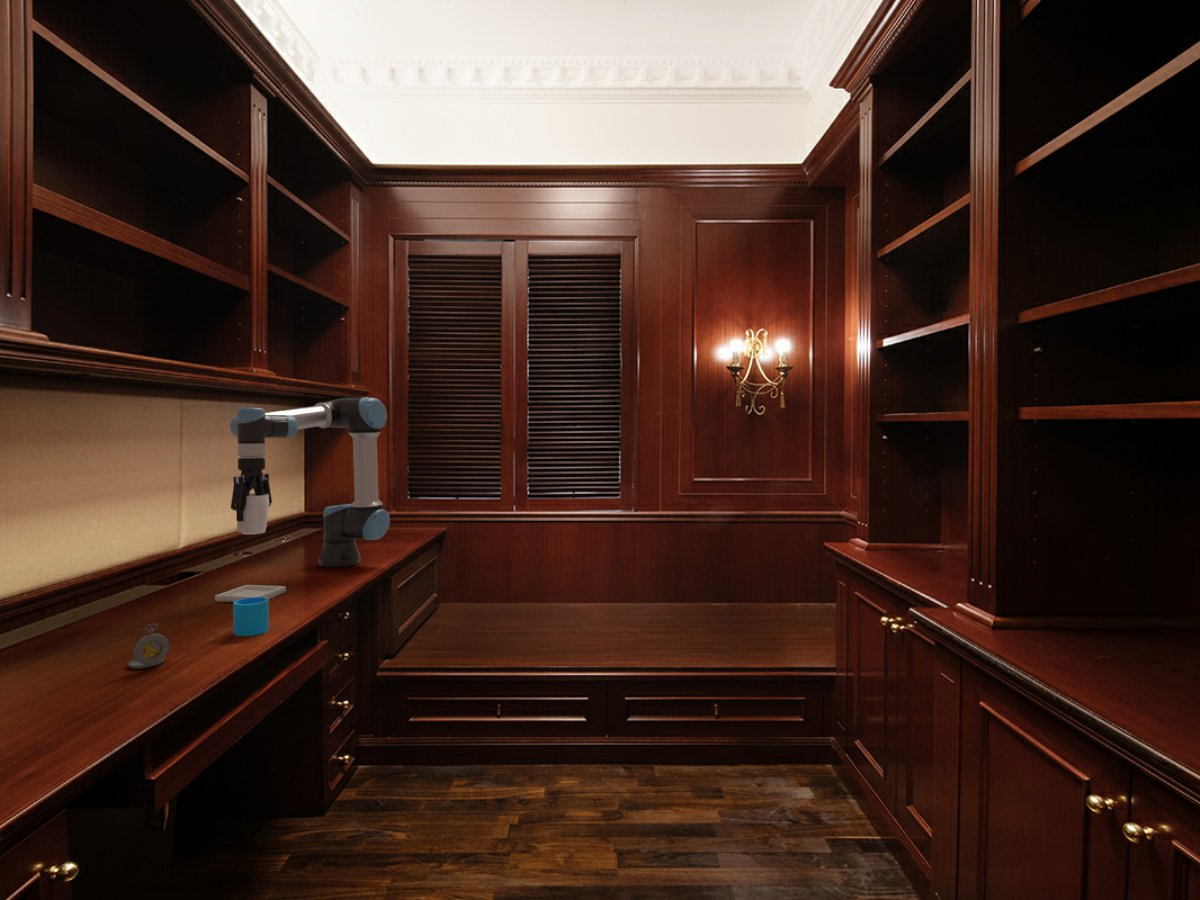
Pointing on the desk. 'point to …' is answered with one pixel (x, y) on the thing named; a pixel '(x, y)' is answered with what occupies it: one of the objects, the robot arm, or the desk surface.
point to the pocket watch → (154, 644)
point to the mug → (251, 616)
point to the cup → (256, 513)
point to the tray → (250, 592)
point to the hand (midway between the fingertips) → (252, 529)
